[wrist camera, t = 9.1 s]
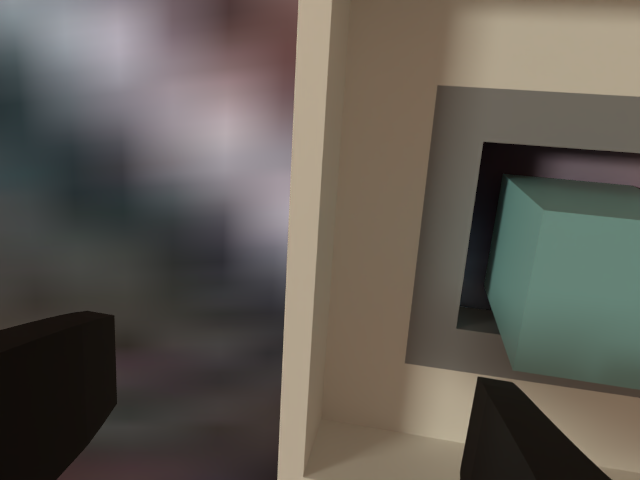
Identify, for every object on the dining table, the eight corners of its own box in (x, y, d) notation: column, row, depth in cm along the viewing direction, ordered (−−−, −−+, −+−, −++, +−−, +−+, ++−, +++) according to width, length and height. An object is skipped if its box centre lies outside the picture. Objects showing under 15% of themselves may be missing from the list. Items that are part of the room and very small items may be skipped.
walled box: (752, 476, 18) (871, 610, 13) (309, 403, 21) (276, 493, 16) (928, -23, 14) (1198, -88, 9) (337, -35, 16) (302, -90, 12)
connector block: (604, 301, 17) (692, 398, 12) (483, 285, 18) (512, 370, 12) (632, 185, 16) (744, 230, 11) (502, 173, 17) (543, 210, 11)
